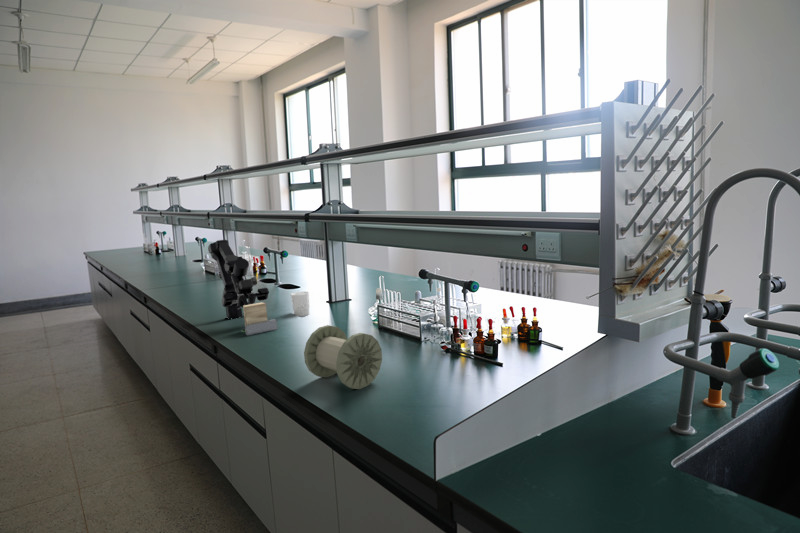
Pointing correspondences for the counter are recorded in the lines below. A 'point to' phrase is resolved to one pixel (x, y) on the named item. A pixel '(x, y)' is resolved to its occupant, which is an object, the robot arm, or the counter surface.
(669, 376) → the counter surface
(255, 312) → the block
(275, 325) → the grey rectangular bar
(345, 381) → the spool
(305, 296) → the white cup
